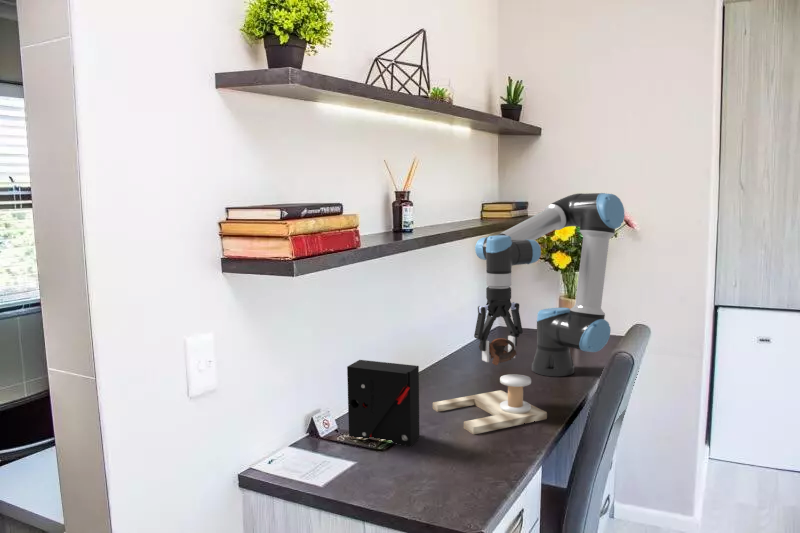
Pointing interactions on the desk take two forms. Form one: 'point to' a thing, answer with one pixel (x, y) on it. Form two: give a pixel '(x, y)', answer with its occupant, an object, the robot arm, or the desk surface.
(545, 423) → the desk surface
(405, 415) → the electrical component
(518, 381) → the spool
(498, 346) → the pottery mug
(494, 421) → the notched board
